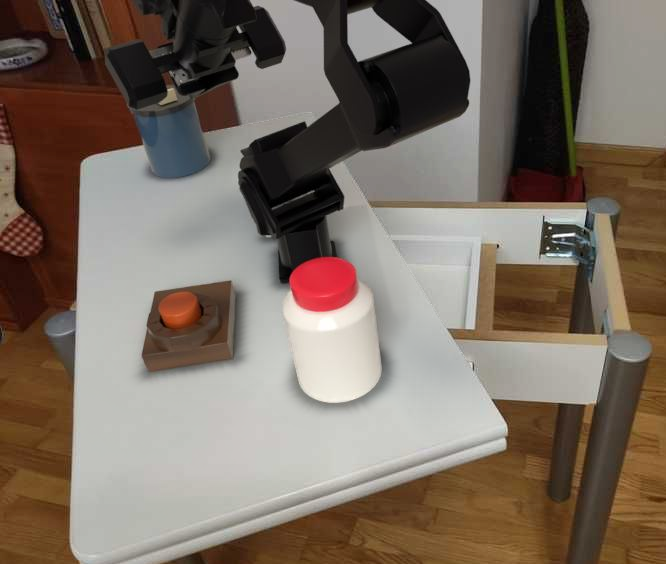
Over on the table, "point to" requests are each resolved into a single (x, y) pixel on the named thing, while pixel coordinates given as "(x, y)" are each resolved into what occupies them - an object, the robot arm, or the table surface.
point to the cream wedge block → (169, 97)
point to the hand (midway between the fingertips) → (191, 94)
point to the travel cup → (172, 137)
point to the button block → (192, 330)
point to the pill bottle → (332, 330)
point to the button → (180, 310)
